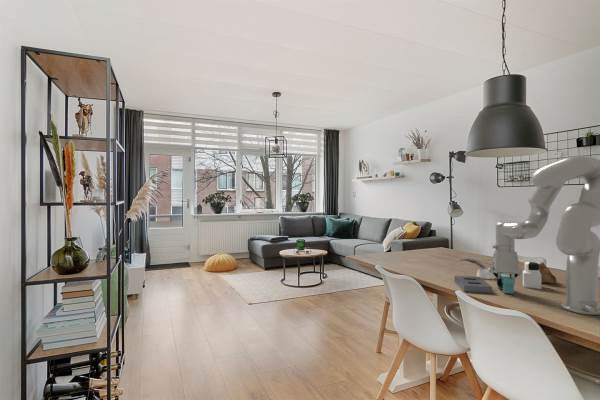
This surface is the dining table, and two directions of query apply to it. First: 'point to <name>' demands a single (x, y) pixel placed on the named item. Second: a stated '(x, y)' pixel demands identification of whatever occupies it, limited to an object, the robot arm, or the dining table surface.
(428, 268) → the dining table surface
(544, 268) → the decorative rock
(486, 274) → the inkwell
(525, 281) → the medicine bottle
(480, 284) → the slot rail
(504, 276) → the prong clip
